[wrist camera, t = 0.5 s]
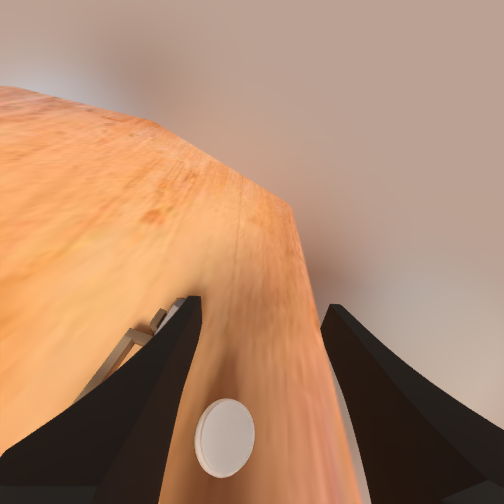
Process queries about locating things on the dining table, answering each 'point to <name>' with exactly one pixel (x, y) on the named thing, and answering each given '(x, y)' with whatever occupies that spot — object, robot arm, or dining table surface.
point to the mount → (122, 352)
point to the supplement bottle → (224, 437)
